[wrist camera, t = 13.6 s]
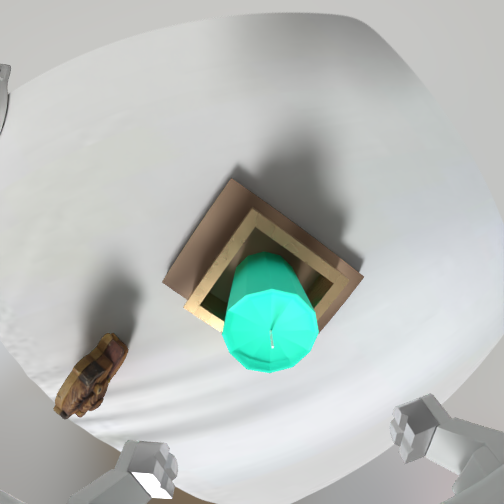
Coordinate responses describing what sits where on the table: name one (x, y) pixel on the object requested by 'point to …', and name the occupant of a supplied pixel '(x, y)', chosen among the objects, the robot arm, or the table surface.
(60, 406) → the wooden carving
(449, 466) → the robot arm
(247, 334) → the candle
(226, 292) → the candle stand
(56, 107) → the table surface
